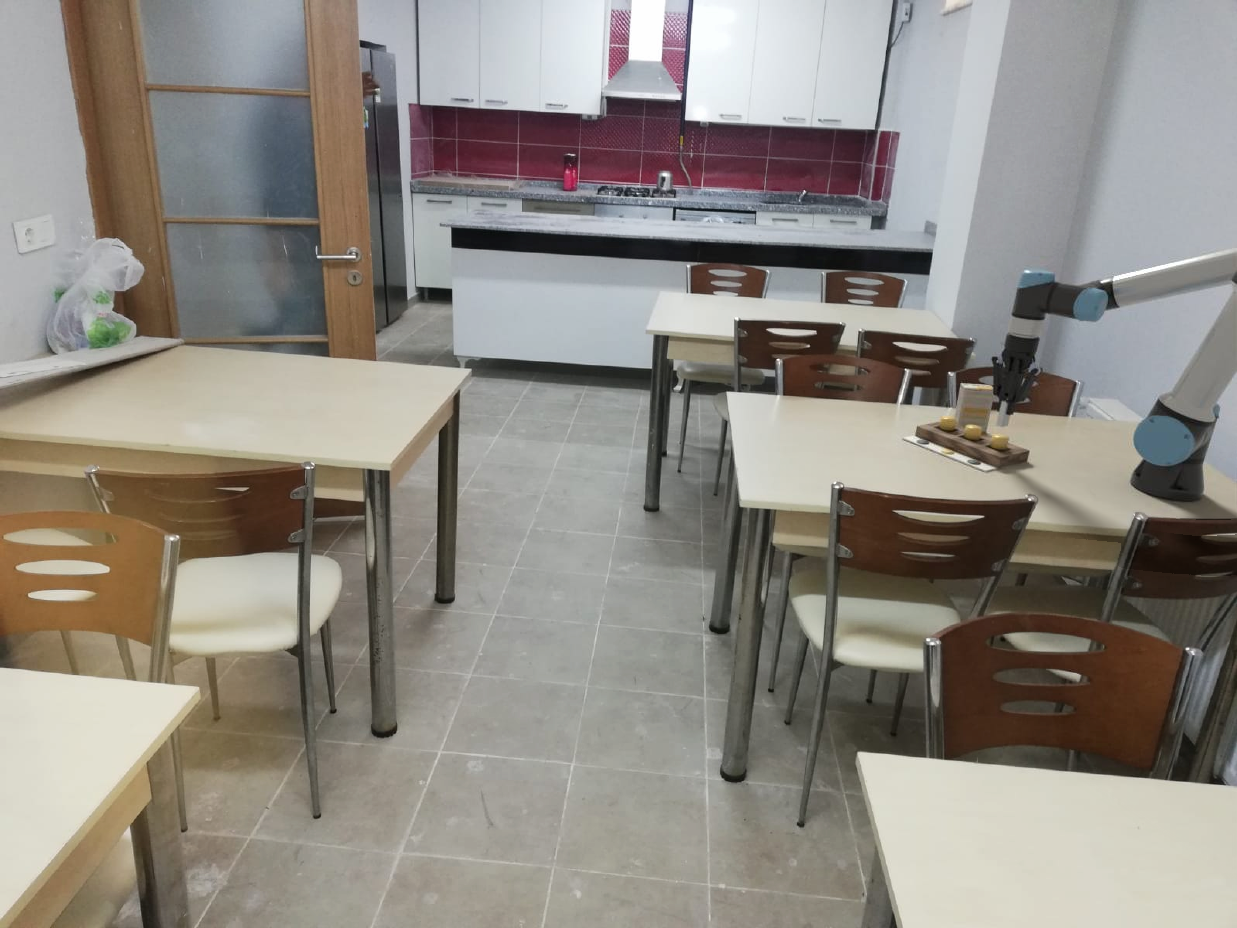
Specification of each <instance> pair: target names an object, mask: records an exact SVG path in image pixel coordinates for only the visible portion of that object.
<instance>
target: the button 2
mask: <svg viewBox="0 0 1237 928" xmlns="http://www.w3.org/2000/svg"><path fill="white" fill-rule="evenodd" d="M991 437H992V439H991V444H990V446H991V447H992V448H995V449H1000V450H1005V449H1007V445H1008V443H1009V441H1010V437H1009V436H1007V435H1005V434H1000V433H994V434H992V436H991Z"/></svg>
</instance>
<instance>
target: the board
mask: <svg viewBox="0 0 1237 928" xmlns="http://www.w3.org/2000/svg"><path fill="white" fill-rule="evenodd" d="M939 424H940V421H937V422H932V423H925V424H920V425H917V426H916V429H915V435H914V436H916V437H918V438H921V439H924V440H926V441H929V442H931V443H934V444H936V445H939V446H942V447H944V448H947V449H949V450H952V451H955V452H957V453H960V454H962V455H965V456H967V457H970V458H973V459H975V460H978V461H980V462H983V463H986V464H988V465H991V466H993V467H996V469H997V470H999V469H1003V468H1008V467H1011V466H1015V465H1018V464H1022V463H1027V462H1028V460H1029V457H1030V450H1029V449H1026V448H1024V447H1020V446H1019V445H1015V444H1013V443H1010V442H1008V445H1007V449H1005V450H1000V449H995V448H992V447H991V446H990V444H991V439H992V436H990V435H987V434H982V433H981V436H980V439H979V440H972V439H968V438H965V437H964V433H965V427H963V426H960V425H957V424H955V429H954V430H951V431H950V430H943V429H941V428H939Z"/></svg>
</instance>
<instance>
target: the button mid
mask: <svg viewBox="0 0 1237 928" xmlns="http://www.w3.org/2000/svg"><path fill="white" fill-rule="evenodd" d="M981 431H982V428H981V427H980V426H976V425H966V428H965V433H964V437H965V438H968V439H972V440H979V439H980V436H981Z"/></svg>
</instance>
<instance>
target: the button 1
mask: <svg viewBox="0 0 1237 928" xmlns="http://www.w3.org/2000/svg"><path fill="white" fill-rule="evenodd" d="M954 417H955V416H950V415H949V416H948V415H942V416H940V421H939V422H940V424H939V428H941V429H943V430H950V431H951V430H954V429H955V424H956V420H957V419H956V418H954Z"/></svg>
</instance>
